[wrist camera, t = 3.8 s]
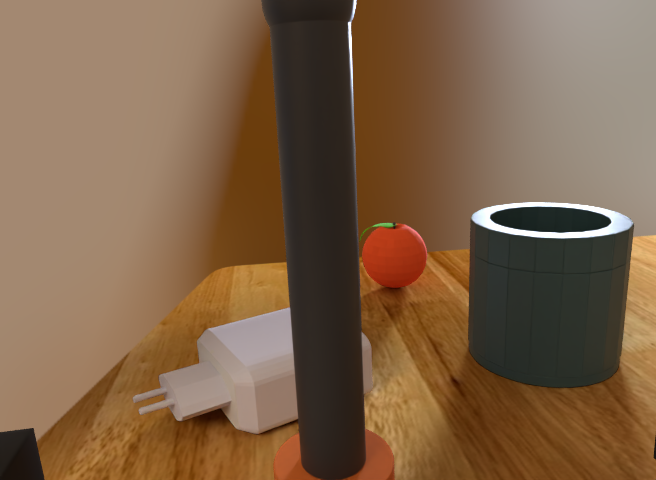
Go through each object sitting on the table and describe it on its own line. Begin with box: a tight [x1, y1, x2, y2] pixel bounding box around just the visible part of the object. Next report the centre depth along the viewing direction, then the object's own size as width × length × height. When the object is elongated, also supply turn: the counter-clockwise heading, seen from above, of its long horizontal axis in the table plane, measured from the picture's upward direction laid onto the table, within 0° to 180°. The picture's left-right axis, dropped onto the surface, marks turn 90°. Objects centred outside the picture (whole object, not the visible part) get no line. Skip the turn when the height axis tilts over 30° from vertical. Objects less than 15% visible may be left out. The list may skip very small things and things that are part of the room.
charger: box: [133, 308, 373, 434], centre depth 39 cm, size 5×9×15 cm
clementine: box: [360, 223, 427, 288], centre depth 60 cm, size 8×7×7 cm
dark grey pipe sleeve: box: [468, 203, 634, 388], centre depth 43 cm, size 11×11×11 cm
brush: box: [262, 0, 394, 480], centre depth 21 cm, size 5×5×26 cm
